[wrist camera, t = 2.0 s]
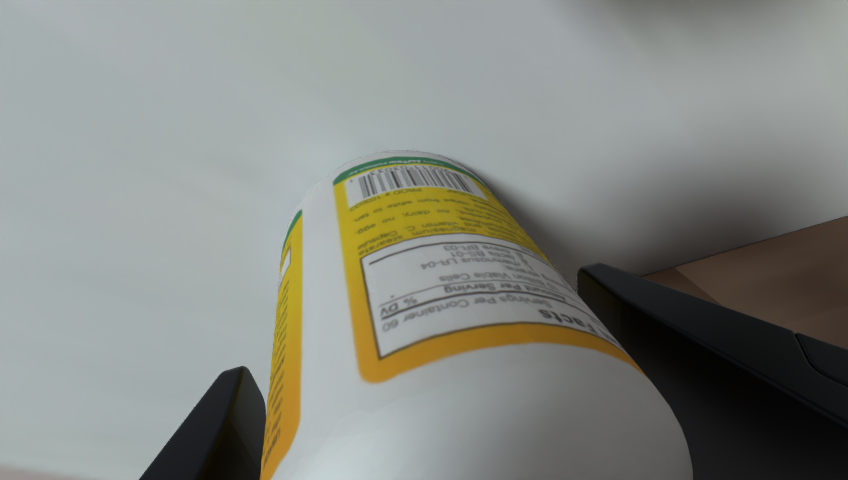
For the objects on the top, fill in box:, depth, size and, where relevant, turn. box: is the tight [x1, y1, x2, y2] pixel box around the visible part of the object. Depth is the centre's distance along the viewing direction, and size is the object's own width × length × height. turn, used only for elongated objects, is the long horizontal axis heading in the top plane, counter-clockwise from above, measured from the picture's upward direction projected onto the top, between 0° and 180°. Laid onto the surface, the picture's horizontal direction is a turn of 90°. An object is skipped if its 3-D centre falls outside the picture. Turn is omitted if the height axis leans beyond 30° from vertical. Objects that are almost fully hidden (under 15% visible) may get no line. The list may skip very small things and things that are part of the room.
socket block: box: [642, 216, 848, 349], centre depth 16 cm, size 10×10×3 cm
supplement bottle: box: [260, 150, 693, 480], centre depth 8 cm, size 5×5×10 cm
